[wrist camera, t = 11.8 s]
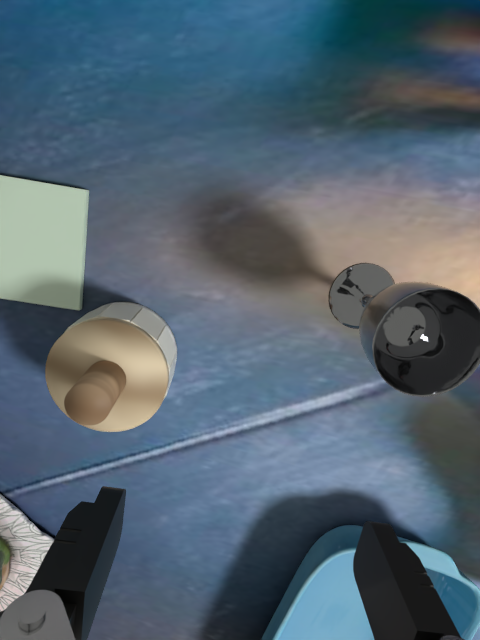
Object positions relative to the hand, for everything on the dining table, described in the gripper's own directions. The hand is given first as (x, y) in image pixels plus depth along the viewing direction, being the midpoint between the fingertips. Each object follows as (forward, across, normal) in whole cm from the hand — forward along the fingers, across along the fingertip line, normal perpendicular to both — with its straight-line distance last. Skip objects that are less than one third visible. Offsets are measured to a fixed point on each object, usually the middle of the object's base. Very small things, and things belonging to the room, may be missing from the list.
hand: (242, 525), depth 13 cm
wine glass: (+30, -13, -3) cm, 33 cm away
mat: (+30, +22, -3) cm, 37 cm away
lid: (+24, +11, +7) cm, 27 cm away
